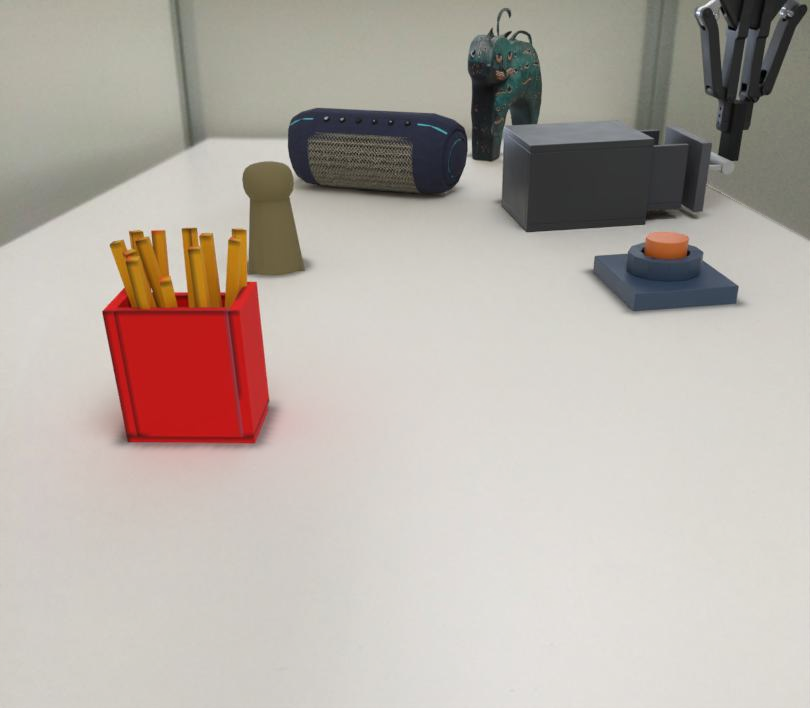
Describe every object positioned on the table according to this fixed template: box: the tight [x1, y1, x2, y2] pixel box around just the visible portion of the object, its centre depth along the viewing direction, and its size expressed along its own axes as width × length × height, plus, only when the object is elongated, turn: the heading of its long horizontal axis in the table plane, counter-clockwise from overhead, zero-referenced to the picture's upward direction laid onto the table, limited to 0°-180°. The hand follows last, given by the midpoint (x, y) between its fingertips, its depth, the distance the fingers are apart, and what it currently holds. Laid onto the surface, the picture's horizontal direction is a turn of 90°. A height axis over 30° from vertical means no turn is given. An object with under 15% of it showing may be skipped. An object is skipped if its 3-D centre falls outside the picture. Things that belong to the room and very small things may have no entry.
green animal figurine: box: [467, 7, 543, 162], centre depth 148 cm, size 20×6×20 cm, turn 149°
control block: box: [592, 241, 740, 312], centre depth 94 cm, size 10×12×4 cm
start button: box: [644, 231, 690, 259], centre depth 93 cm, size 4×4×2 cm
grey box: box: [501, 119, 655, 233], centre depth 117 cm, size 15×13×10 cm
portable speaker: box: [287, 107, 469, 196], centre depth 130 cm, size 25×10×10 cm, turn 67°
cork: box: [241, 160, 306, 276], centre depth 100 cm, size 6×6×11 cm
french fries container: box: [101, 227, 270, 444], centre depth 68 cm, size 7×9×14 cm
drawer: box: [637, 125, 735, 213], centre depth 119 cm, size 18×11×8 cm, turn 99°
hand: (727, 158), depth 119 cm, fingers closed
